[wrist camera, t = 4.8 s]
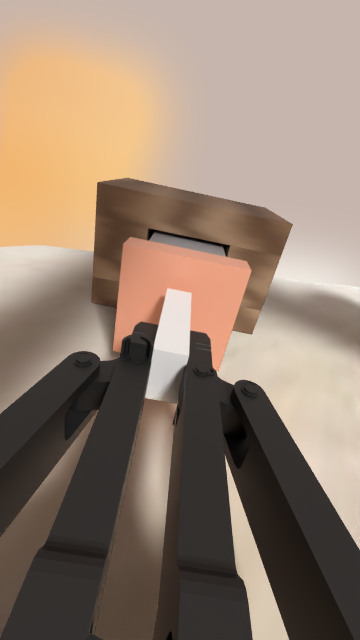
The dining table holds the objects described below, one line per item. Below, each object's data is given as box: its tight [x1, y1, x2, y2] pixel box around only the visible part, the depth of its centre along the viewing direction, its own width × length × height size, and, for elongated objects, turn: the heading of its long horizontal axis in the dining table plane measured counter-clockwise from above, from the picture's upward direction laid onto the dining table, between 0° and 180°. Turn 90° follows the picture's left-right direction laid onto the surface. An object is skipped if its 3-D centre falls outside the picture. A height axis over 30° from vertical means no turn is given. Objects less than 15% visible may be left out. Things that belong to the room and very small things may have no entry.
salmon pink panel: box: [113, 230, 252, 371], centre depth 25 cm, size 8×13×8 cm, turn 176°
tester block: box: [92, 178, 293, 334], centre depth 34 cm, size 18×12×12 cm, turn 86°
